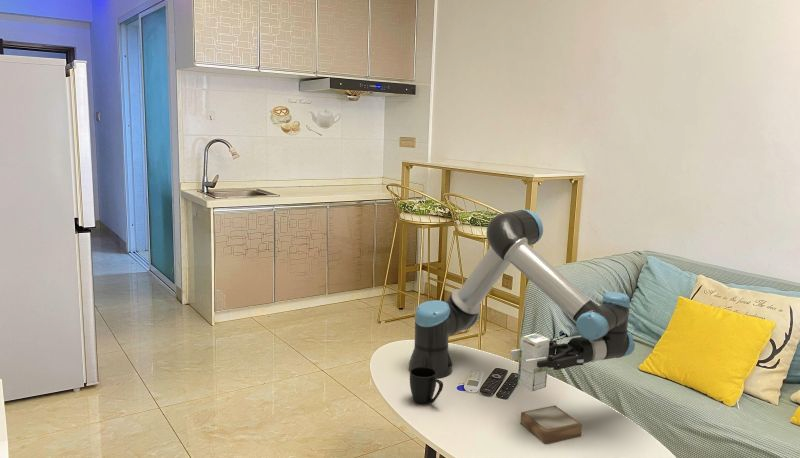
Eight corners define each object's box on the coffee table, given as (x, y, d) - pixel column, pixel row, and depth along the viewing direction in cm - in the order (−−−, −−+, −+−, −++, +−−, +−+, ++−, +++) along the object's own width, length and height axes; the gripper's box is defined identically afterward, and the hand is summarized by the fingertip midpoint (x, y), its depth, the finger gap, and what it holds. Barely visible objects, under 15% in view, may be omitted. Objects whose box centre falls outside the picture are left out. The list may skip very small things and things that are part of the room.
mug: (430, 414, 179) (431, 384, 177) (403, 399, 188) (404, 370, 186) (449, 406, 184) (451, 376, 182) (423, 392, 193) (423, 364, 191)
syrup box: (531, 380, 174) (533, 332, 171) (547, 387, 169) (549, 338, 167) (517, 384, 171) (519, 335, 168) (532, 392, 166) (535, 342, 163)
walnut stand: (520, 423, 175) (521, 411, 174) (554, 416, 179) (555, 404, 179) (545, 444, 164) (546, 431, 163) (581, 436, 169) (582, 423, 168)
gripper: (608, 374, 167) (538, 387, 158) (564, 349, 185) (499, 359, 176) (610, 348, 166) (540, 360, 157) (565, 326, 183) (500, 335, 175)
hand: (518, 360), depth 167 cm, fingers closed on syrup box, 6 cm apart
